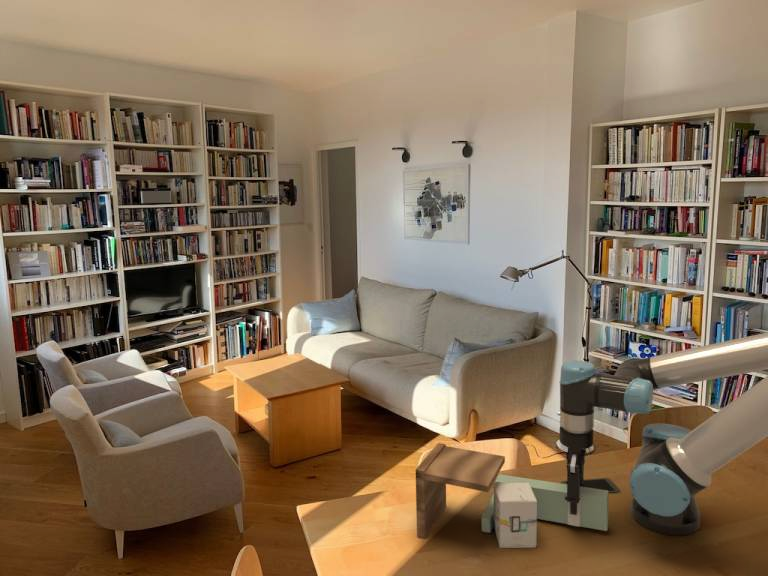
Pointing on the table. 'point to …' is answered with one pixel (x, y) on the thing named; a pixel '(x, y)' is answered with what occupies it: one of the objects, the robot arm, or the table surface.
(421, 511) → the shelf
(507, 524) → the ink box
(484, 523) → the sage green box
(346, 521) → the table surface
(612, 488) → the cell phone
